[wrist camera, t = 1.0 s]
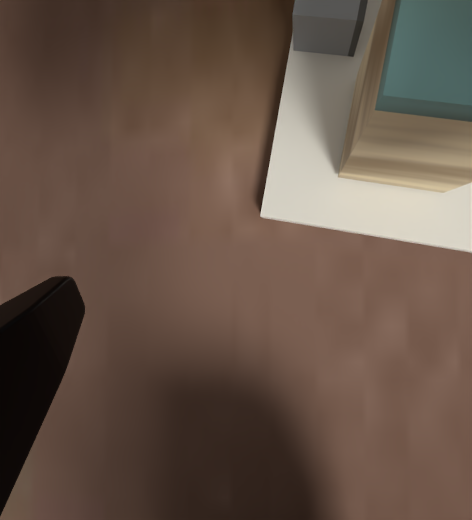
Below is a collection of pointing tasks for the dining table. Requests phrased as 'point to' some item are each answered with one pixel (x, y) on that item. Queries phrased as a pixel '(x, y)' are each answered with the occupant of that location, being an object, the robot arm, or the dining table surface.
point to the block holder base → (332, 141)
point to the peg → (414, 98)
